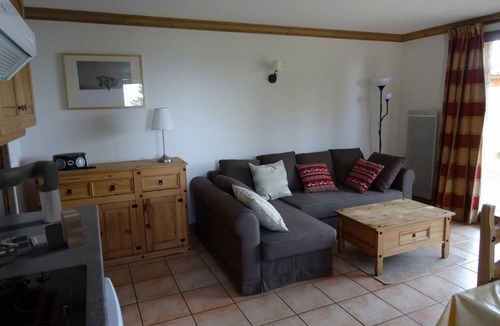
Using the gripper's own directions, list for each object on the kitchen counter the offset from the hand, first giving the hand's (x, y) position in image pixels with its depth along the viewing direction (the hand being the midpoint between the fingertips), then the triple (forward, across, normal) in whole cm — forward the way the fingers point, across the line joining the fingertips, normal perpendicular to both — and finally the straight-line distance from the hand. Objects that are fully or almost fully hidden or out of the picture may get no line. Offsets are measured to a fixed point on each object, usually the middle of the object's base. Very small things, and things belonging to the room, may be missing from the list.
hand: (28, 240), depth 148 cm
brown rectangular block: (+17, 0, +6) cm, 18 cm away
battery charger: (+10, 0, +6) cm, 12 cm away
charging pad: (+8, +13, +6) cm, 16 cm away
